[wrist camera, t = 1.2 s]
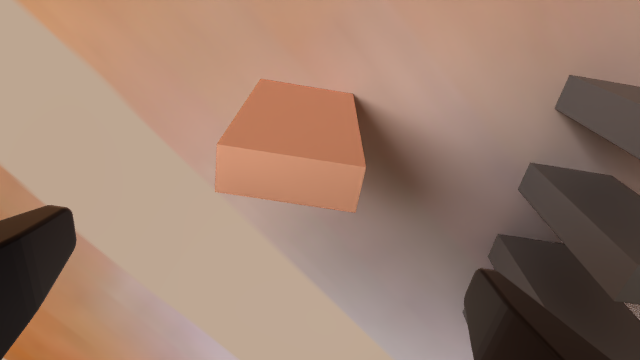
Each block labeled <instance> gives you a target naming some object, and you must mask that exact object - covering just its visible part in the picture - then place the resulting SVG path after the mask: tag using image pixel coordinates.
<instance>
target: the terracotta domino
mask: <svg viewBox="0 0 640 360" xmlns="http://www.w3.org/2000/svg"><path fill="white" fill-rule="evenodd" d="M365 170H366V164H365V158H364V153H363V147H362V142H361V136H360V130H359V125H358V119H357V114H356V108H355V103H354V97H353V94H350V93H344V92H338V91H332V90H326V89H320V88H314V87H307V86H301V85H295V84H289V83H283V82H277V81H271V80H265V79H260V81H259V82H258V84H257V85H256V87H255V88H254V90H253V91H252V93H251V94H250V96H249V97H248V99H247V100H246V102H245V103H244V104H243V106H242V107H241V109H240V110H239V112H238V113H237V115H236V116H235V118H234V119H233V121H232V122H231V124H230V125H229V127H228V128H227V130H226V131H225V133H224V134H223V136H222V137H221V139H220V140H219V142H218V143H217V153H216V178H215V192H220V193H227V194H233V195H240V196H247V197H253V198H260V199H267V200H273V201H280V202H287V203H294V204H300V205H307V206H314V207H320V208H327V209H334V210H340V211H347V212H354V213H355V212H356V208H357V204H358V200H359V195H360V191H361V187H362V183H363V179H364V174H365Z"/></svg>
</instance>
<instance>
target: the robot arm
mask: <svg viewBox="0 0 640 360" xmlns="http://www.w3.org/2000/svg"><path fill="white" fill-rule="evenodd" d="M75 246H76V233H75V226H74V221H73V214H72V212H71V210H70V209H68V208H67V207H60V206H54V205H47V206H44V207H41V208H38V209H35V210H31V211H28V212H25V213H22V214H19V215H16V216H13V217H10V218H7V219H4V220H1V221H0V360H2V358H3V357H4V356H5V354H6V353H7V351H8V350H9V349H10V347H11V346H12V345H13V343H14V342H15V341H16V339H17V338H18V337H19V335H20V334H21V333H22V331H23V330H24V329H25V327H26V326H27V325H28V323H29V322H30V320H31V319H32V318H33V316H34V315H35V313H36V312H37V311H38V309H39V307H40V306H41V304H42V303H43V301H44V300H45V298H46V296H47V295H48V293H49V291H50V289H51V288H52V286H53V284H54V283H55V281H56V279H57V278H58V276H59V274H60V273H61V271H62V269H63V268H64V266H65V264H66V262H67V261H68V259H69V257H70V256H71V254H72V252H73V251H74V248H75ZM464 307H465V312H466V318H467V324H468V329H469V335H470V340H471V346H472V352H473V357H474V360H611V359H610V358H609V357H608V356H606V355H605V354H604V353H602V352H601V351H600V350H599V349H597V348H596V347H595V346H593V345H592V344H591V343H590V342H588V341H587V340H586V339H584V338H583V337H582V336H581V335H579V334H578V333H577V332H575V331H574V330H573V329H572V328H570V327H569V326H568V325H566V324H565V323H564V322H563V321H561V320H560V319H559V318H557V317H556V316H555V315H554V314H552V313H551V312H550V311H548V310H547V309H546V308H545V307H543V306H542V305H541V304H539V303H538V302H537V301H536V300H534V299H533V298H532V297H530V296H529V295H528V294H527V293H525V292H524V291H523V290H521V289H520V288H519V287H518V286H516V285H515V284H514V283H512V282H511V281H510V280H509V279H507V278H506V277H505V276H503V275H502V274H501V273H500V272H498V271H496V270H490V269H483V268H480V269H478V270H477V271H476V272H475V274H474V276H473V278H472V280H471V283H470V285H469V287H468V289H467V292H466V294H465V298H464Z"/></svg>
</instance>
